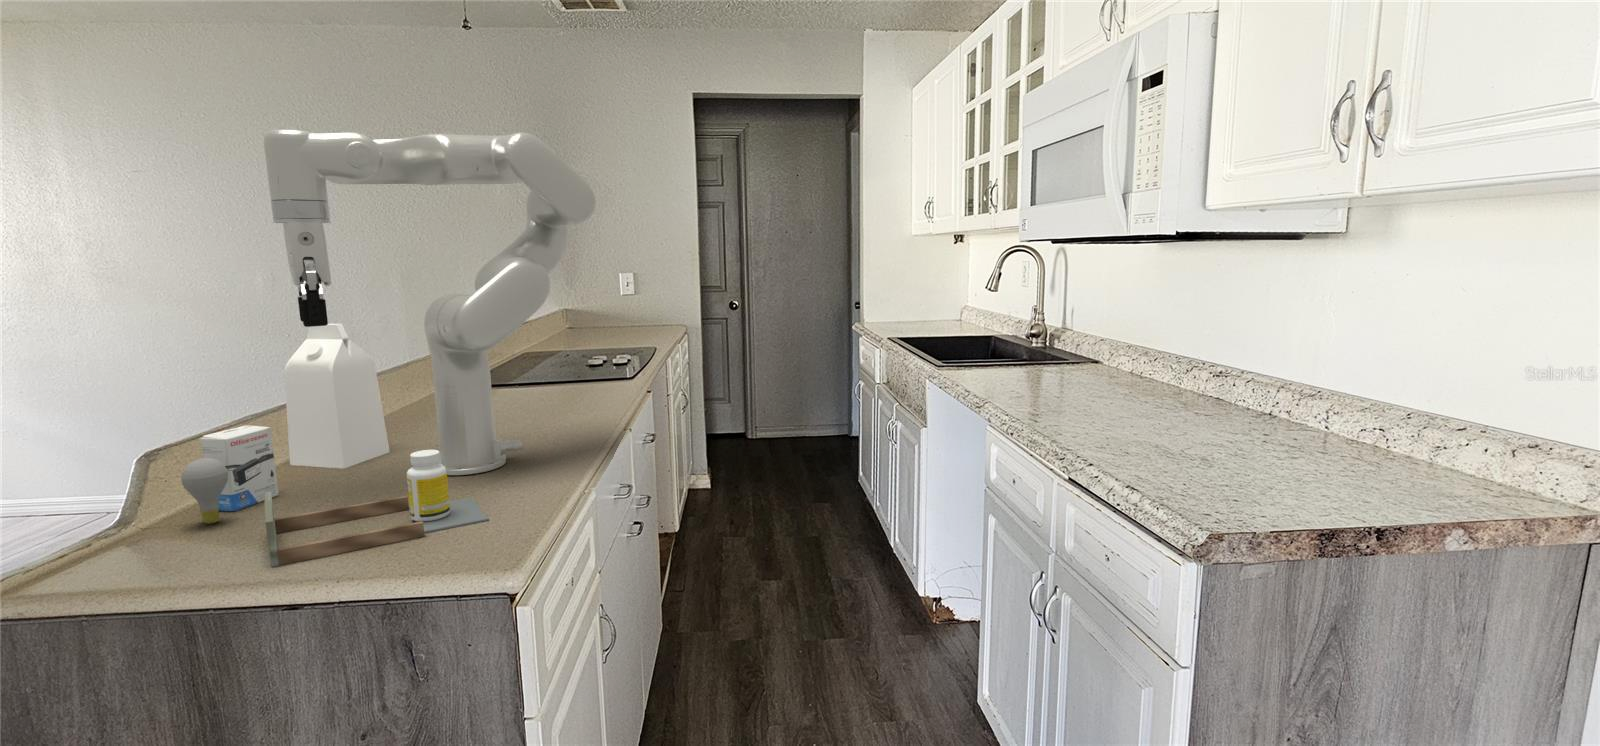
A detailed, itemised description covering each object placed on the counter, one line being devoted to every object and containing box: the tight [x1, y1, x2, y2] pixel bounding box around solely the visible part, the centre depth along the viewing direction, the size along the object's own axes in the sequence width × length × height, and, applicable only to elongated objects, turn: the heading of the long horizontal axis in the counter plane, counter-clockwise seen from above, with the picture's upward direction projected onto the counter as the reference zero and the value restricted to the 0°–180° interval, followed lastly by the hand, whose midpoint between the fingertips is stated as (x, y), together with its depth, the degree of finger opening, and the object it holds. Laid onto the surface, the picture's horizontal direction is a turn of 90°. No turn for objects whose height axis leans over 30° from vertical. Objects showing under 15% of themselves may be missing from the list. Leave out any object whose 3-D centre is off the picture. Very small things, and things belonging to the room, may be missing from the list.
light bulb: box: [181, 457, 228, 526], centre depth 116 cm, size 6×6×10 cm
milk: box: [284, 323, 390, 469], centre depth 149 cm, size 12×12×26 cm
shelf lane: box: [264, 492, 426, 568], centre depth 111 cm, size 18×15×6 cm
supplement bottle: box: [406, 449, 450, 522], centre depth 117 cm, size 5×5×10 cm
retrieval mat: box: [408, 497, 490, 534], centre depth 119 cm, size 9×12×1 cm
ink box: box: [199, 425, 279, 512], centre depth 125 cm, size 8×5×12 cm, turn 168°
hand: (314, 323), depth 125 cm, fingers open, 9 cm apart
